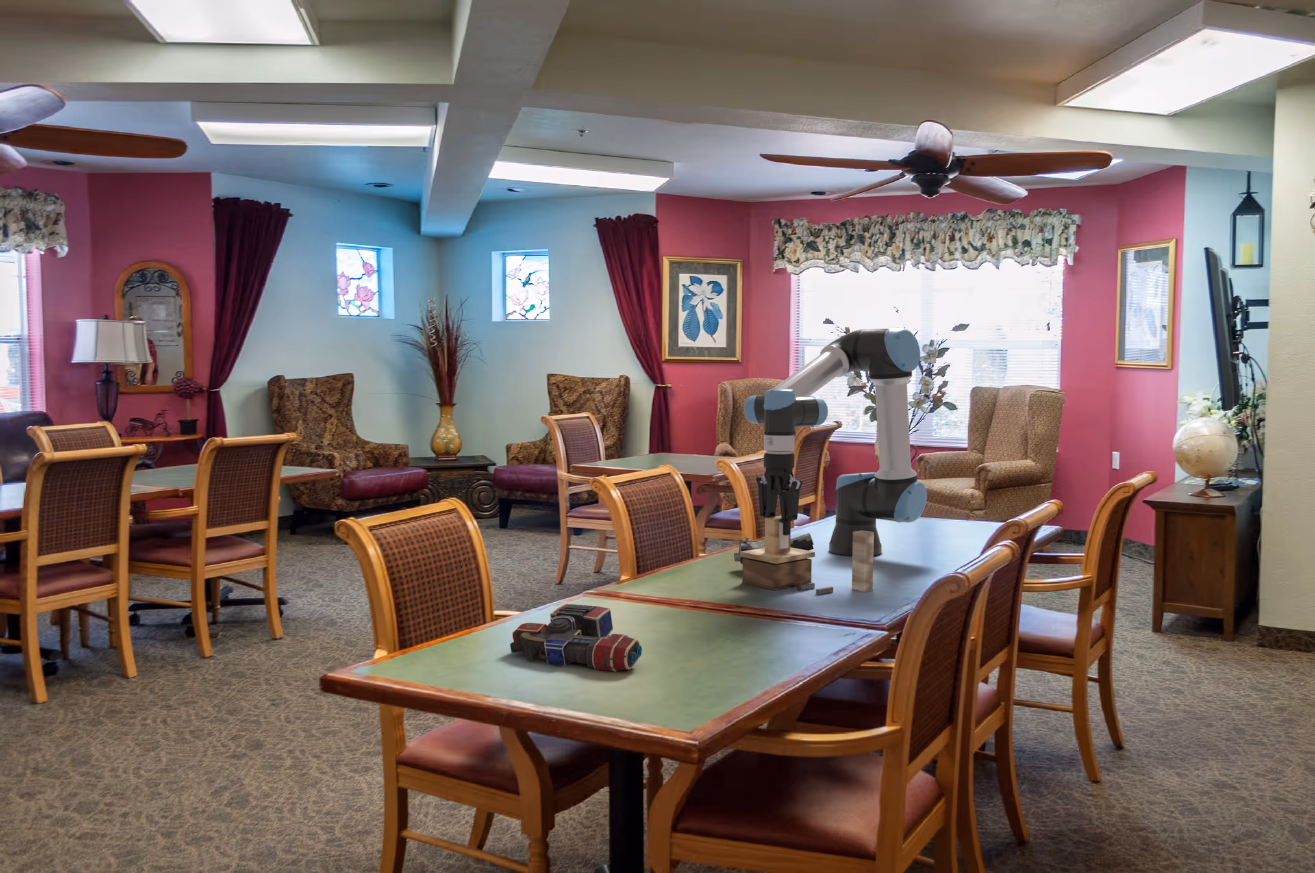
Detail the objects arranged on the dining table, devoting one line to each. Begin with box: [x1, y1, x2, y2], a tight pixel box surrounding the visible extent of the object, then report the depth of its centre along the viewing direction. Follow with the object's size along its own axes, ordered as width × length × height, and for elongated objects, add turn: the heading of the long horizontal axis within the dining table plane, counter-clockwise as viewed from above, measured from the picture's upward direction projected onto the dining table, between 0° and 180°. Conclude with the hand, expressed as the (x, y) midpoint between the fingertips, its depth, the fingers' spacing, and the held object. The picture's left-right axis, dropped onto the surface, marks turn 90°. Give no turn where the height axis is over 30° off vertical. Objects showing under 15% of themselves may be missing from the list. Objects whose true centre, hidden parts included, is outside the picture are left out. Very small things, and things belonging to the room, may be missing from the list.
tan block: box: [851, 530, 874, 593], centre depth 237 cm, size 4×4×14 cm
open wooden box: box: [741, 558, 813, 591], centre depth 244 cm, size 13×11×6 cm
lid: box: [740, 515, 816, 564], centre depth 244 cm, size 14×12×10 cm
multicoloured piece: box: [509, 603, 643, 673], centre depth 181 cm, size 8×25×20 cm
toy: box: [733, 532, 815, 565], centre depth 259 cm, size 7×21×10 cm, turn 89°
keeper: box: [791, 581, 834, 596], centre depth 237 cm, size 5×10×1 cm, turn 40°
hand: (777, 546), depth 244 cm, fingers closed on lid, 3 cm apart
